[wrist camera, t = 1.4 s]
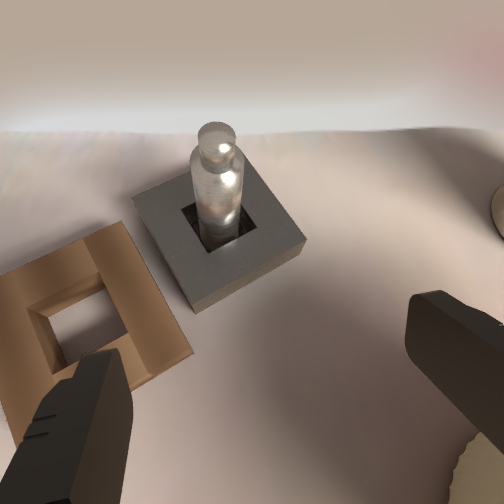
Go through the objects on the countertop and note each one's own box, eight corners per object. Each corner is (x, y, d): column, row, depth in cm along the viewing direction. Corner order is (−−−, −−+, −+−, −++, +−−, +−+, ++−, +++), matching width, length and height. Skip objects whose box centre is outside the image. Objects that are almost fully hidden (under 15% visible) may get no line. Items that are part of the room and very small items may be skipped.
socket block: (238, 170, 31) (240, 149, 29) (299, 254, 29) (307, 239, 26) (140, 216, 29) (131, 197, 26) (195, 314, 26) (192, 304, 23)
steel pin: (225, 213, 30) (227, 106, 19) (244, 241, 29) (258, 145, 18) (193, 229, 29) (175, 126, 18) (212, 258, 28) (205, 169, 17)
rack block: (131, 237, 28) (121, 220, 25) (194, 353, 25) (190, 347, 22) (-7, 303, 25) (-36, 292, 22) (43, 445, 22) (17, 452, 19)
